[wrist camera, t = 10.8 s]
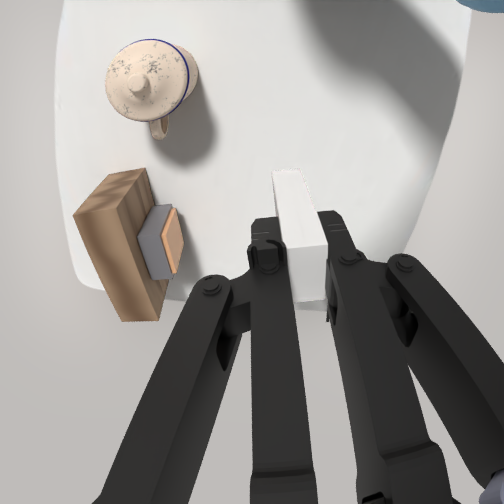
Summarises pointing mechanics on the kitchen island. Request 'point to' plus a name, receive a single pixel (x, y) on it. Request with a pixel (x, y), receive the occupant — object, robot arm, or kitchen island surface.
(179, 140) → the kitchen island surface
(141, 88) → the teacup with lid
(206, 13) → the kitchen island surface
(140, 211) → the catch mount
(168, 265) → the gray housing block
